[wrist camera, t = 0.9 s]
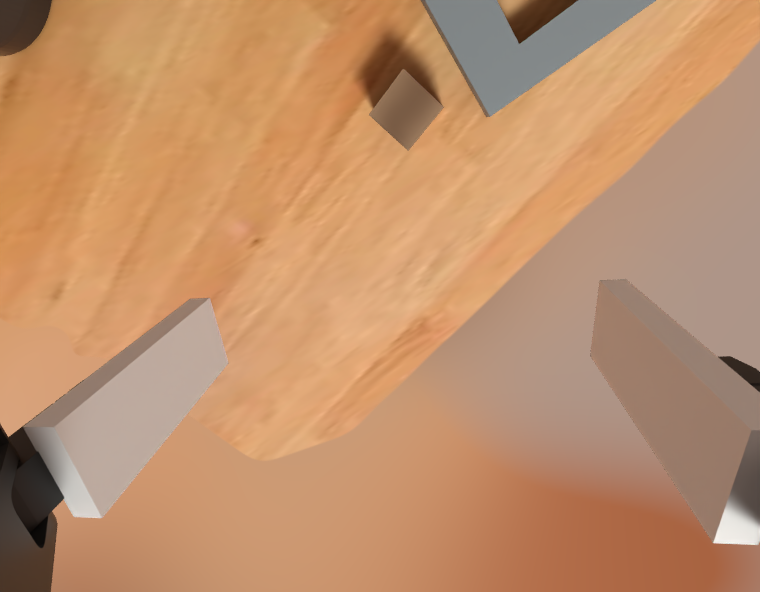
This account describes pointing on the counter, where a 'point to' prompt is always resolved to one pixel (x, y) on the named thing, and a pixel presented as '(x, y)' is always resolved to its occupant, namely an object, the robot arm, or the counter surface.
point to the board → (525, 60)
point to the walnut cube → (406, 110)
